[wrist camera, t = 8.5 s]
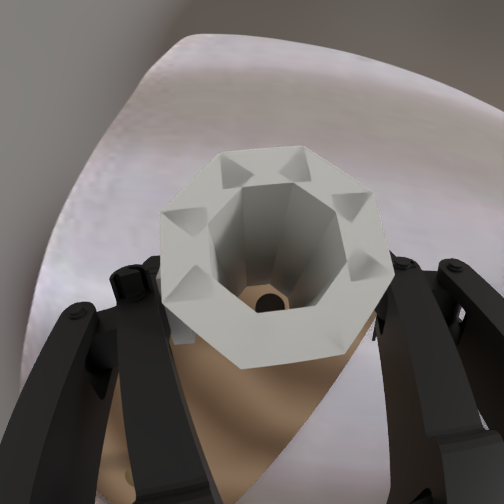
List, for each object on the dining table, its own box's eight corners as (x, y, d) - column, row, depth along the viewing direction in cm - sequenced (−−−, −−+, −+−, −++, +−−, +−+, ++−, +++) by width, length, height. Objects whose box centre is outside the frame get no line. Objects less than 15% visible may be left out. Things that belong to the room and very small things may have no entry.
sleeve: (305, 256, 19) (360, 138, 9) (320, 357, 17) (415, 346, 7) (204, 267, 19) (154, 155, 8) (214, 370, 17) (159, 383, 6)
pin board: (246, 213, 28) (244, 156, 20) (378, 303, 25) (426, 277, 17) (64, 447, 21) (8, 466, 13) (185, 543, 18) (164, 595, 10)
